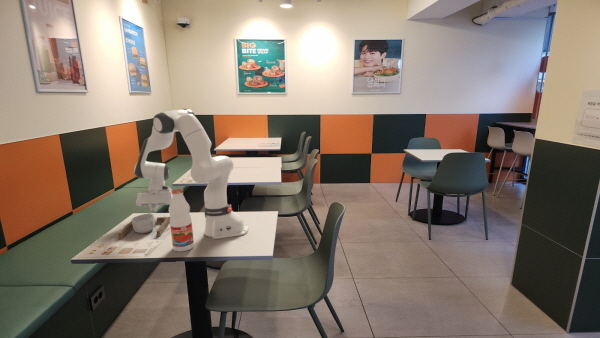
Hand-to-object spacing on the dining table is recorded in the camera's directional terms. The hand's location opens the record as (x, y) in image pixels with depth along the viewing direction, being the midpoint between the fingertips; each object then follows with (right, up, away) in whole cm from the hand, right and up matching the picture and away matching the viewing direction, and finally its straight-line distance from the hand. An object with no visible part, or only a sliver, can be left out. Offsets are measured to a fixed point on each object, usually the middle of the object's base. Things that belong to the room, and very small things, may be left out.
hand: (153, 211), depth 188 cm
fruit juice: (+29, -13, -33) cm, 46 cm away
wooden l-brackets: (+2, -8, -11) cm, 14 cm away
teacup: (+2, -8, -11) cm, 14 cm away
